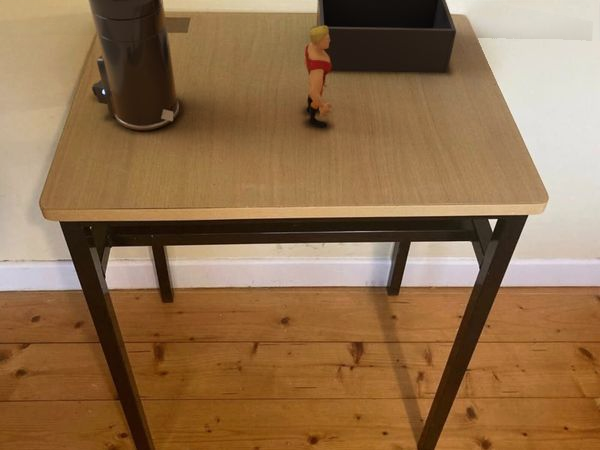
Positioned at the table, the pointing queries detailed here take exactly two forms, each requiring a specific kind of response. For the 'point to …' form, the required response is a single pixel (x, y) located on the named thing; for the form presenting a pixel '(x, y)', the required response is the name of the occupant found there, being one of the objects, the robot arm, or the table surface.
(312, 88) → the action figure
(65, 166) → the table surface
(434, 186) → the table surface
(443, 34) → the bin
